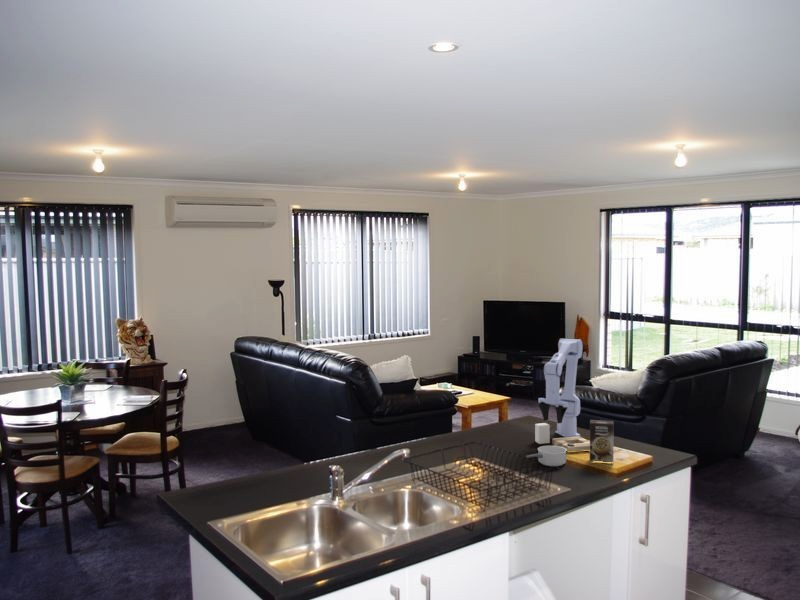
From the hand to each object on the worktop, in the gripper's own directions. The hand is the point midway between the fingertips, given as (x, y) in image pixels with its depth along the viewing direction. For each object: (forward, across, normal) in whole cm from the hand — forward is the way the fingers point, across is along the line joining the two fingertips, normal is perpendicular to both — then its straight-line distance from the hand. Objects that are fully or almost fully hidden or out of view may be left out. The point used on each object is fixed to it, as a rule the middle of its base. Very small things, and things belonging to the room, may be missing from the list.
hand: (552, 421), depth 291 cm
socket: (+10, +8, +5) cm, 14 cm away
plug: (+10, -7, +1) cm, 13 cm away
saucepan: (+12, +16, -24) cm, 31 cm away
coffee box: (+11, +28, -4) cm, 30 cm away
